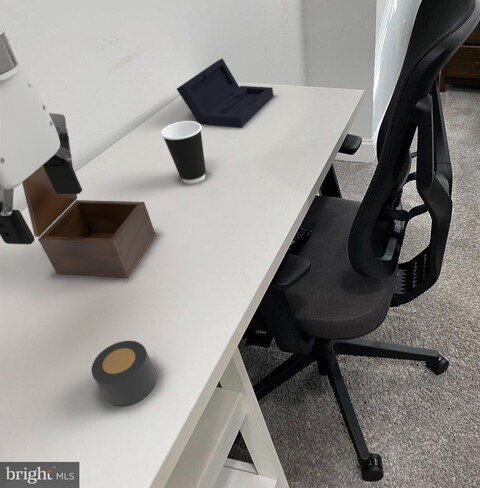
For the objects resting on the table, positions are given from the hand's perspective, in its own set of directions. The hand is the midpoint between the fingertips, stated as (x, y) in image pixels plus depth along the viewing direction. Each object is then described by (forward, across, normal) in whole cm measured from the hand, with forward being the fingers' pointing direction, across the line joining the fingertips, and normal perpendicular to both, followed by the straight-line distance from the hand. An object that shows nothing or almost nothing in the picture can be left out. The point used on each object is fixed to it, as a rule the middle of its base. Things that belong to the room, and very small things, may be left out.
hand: (46, 215), depth 54 cm
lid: (+7, -18, -13) cm, 23 cm away
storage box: (+21, -80, -4) cm, 83 cm away
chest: (+21, -18, -9) cm, 29 cm away
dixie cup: (+21, -44, -3) cm, 49 cm away
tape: (+21, +7, +6) cm, 23 cm away
